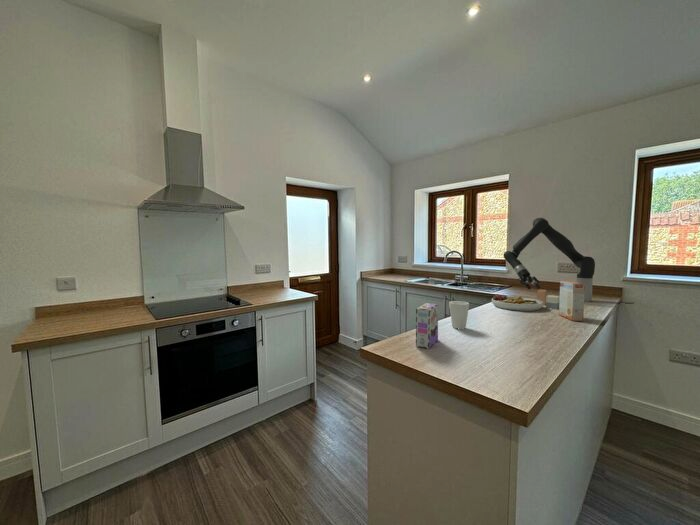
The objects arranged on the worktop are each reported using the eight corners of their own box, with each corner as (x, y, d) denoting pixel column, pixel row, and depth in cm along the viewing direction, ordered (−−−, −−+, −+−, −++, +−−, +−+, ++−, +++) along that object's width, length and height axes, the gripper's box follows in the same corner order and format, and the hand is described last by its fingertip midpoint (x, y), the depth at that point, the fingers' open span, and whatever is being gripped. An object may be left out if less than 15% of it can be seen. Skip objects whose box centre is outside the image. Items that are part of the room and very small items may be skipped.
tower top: (548, 301, 195) (549, 295, 195) (559, 302, 191) (559, 296, 190) (546, 302, 191) (546, 296, 191) (556, 303, 187) (557, 297, 187)
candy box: (429, 349, 117) (429, 309, 116) (415, 346, 120) (415, 307, 119) (438, 340, 128) (438, 303, 128) (425, 337, 132) (425, 302, 131)
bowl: (546, 306, 196) (546, 295, 196) (537, 314, 174) (537, 301, 174) (498, 301, 217) (499, 291, 216) (485, 308, 195) (485, 296, 194)
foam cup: (448, 329, 145) (448, 303, 144) (449, 324, 153) (449, 300, 153) (469, 331, 141) (469, 305, 140) (468, 326, 150) (469, 301, 149)
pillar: (539, 303, 207) (539, 289, 206) (546, 304, 203) (546, 290, 203) (537, 304, 204) (537, 290, 203) (544, 305, 201) (544, 290, 200)
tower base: (548, 306, 195) (549, 301, 195) (559, 308, 191) (559, 302, 191) (546, 308, 191) (546, 302, 191) (556, 309, 187) (556, 303, 187)
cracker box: (584, 321, 156) (585, 283, 155) (571, 321, 157) (572, 283, 156) (570, 315, 170) (571, 280, 169) (558, 315, 171) (559, 280, 170)
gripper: (517, 268, 215) (530, 285, 204) (532, 268, 218) (545, 285, 208) (511, 275, 220) (523, 292, 210) (526, 274, 224) (539, 291, 213)
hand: (534, 288), depth 209 cm, fingers open, 8 cm apart
